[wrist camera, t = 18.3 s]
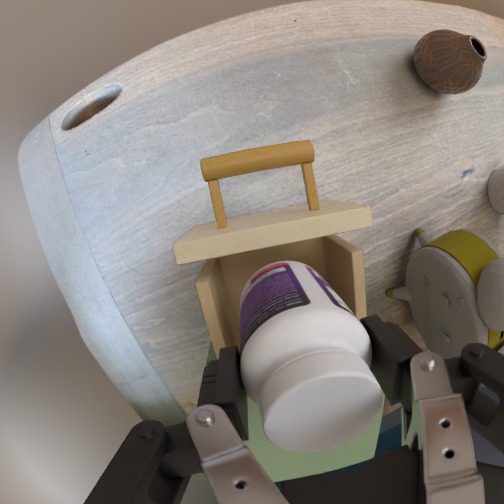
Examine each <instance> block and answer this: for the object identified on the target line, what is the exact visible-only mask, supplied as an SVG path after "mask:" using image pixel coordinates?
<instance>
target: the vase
mask: <svg viewBox="0 0 504 504" xmlns="http://www.w3.org/2000/svg"><path fill="white" fill-rule="evenodd" d="M486 58H487V53H486V50H485V48H484V46H483V44H482V43H481V42H480V41H479V40H478V39H477V38H476V37H474V36H469V35H463V34H461V33H458V32H455V31H451V30H435V31H432V32H429V33H428V34H426V35H424V36H423V37H422V38H421V39H420V40H419V41H418V43H417V44H416V46H415V49H414V53H413V60H414V65H415V68H416V71H417V73H418V74H419V76H420V78H421V79H422V80H423V81H424V82H425V83H426V84H427V85H428V86H429V87H431V88H432V89H434V90H436V91H438V92H441V93H444V94H460V93H463V92H466V91H468V90H470V89H471V88H473V87H474V86H475V85H476V84H477V82H478V81H479V79H480V77H481V73H482V69H483V63H484V61H485V60H486Z"/></svg>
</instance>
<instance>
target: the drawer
mask: <svg viewBox="0 0 504 504" xmlns="http://www.w3.org/2000/svg"><path fill="white" fill-rule="evenodd" d="M313 161H314V149H313V145H312V143H311V141H310V140H303V141H296V142H289V143H282V144H276V145H270V146H264V147H258V148H253V149H247V150H242V151H237V152H232V153H227V154H222V155H218V156H213V157H209V158H204V159H201V161H200V164H201V171H202V175H203V178H204V180H205V182H208V184H209V189H210V194H211V199H212V204H213V208H214V213H215V218H216V221H214V222H209V223H205V224H200V225H196V226H194V227H193V228H192V229H191V230H190V231H188V232H187V233H186V234H185V235H183V236H182V237H181V238H180V239H179V240H177V241H176V242H175V243H174V244H173V245H172V248H173V252H174V256H175V260H176V264H177V265H181V264H186V263H191V262H196V261H201V260H206V259H207V261H206V263H205V265H204V267H203V269H202V271H201V273H200V275H199V277H198V279H197V281H196V283H195V286H196V289H197V293H198V297H199V300H200V304H201V307H202V311H203V314H204V318H205V321H206V324H207V328H208V331H209V334H210V338H211V341H212V344H213V347H214V351H215V354H216V357H217V360H219V352H220V348H225V347H231V346H237V347H238V350H239V353H240V300H241V295H242V292H243V289H244V287H245V285H246V283H247V282H248V280H249V279H250V278H251V276H252V275H253V274H254V273H256V272H257V271H258V270H259V269H261V268H263V267H264V266H266V265H269V264H271V263H274V262H279V261H296V262H300V263H303V264H306V265H308V266H310V267H311V268H313V269H314V270H315V271H317V272H318V273H319V274H320V275H321V276H322V277H323V279H324V280H325V281H326V282H327V283H328V284H329V285H330V287H331V288H332V289H333V290H334V291H335V292H336V294H337V295H338V296H339V297H340V298H341V299H342V300H343V302H344V303H345V304H346V305H347V306H348V308H349V309H350V310H351V311H352V312H353V314H354V315H355V316H356V317H357V319H358V320H359V321H360V319H361V318H364V317H366V291H365V273H364V259H363V251H362V250H361V249H359V248H358V247H356V246H354V245H352V244H350V243H349V242H347V241H345V240H343V239H342V238H340V237H338V236H336V235H334V234H338V233H343V232H349V231H354V230H359V229H364V228H369V227H372V217H371V209H370V207H369V206H363V205H358V204H353V203H347V202H341V201H335V200H325V201H319V202H318V196H317V191H316V185H315V179H314V174H313V169H312V163H311V162H313ZM298 164H301V168H302V173H303V178H304V184H305V189H306V195H307V201H308V203H307V204H301V205H296V206H290V207H285V208H279V209H274V210H269V211H264V212H258V213H253V214H248V215H243V216H238V217H233V218H228V219H226V216H225V211H224V206H223V202H222V197H221V192H220V187H219V182H218V180H217V179H222V178H226V177H231V176H236V175H241V174H246V173H251V172H257V171H262V170H268V169H273V168H279V167H285V166H291V165H298Z"/></svg>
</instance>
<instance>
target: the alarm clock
mask: <svg viewBox="0 0 504 504" xmlns="http://www.w3.org/2000/svg"><path fill="white" fill-rule="evenodd" d="M415 233H416V236H417V238H418V240H419V242H420V244H421V248H419V249H418V250H417V251H416V252H414V253H413V255H412V256H411V257H410V260H409V262H408V265H407V268H406V286H405V287H400V288H396V289H390V290H387V296H388V297H392V298H397V299H401V300H406V301H408V302H409V305H410V309H411V313H412V316H413V319H414V321H415V324H416V326H417V329H418V331H419V333H420V335H421V337H422V339H423V341H424V342H425V344H426V346H427V347H428V349H429V350H430V352H435V353H437V354H439V355H441V356H442V357H443V359H449V358H455V357H459V356H460V355H461V351H462V349H463V347H464V346H466V345H467V344H470V343H482V344H485V345H486V346H488V347H490V348H492V349H494V350H495V351H498V350H499V349H500V348H501V347H502V346H503V345H504V256H503V254H502V253H501V252H500V250H499V249H498V248H497V247H496V246H495V245H494V244H493V243H492V242H491V241H490V240H489V239H487V238H486V237H485V236H483V235H482V234H479V233H477V232H474V231H472V230H467V229H459V230H455V231H451V232H449V233H447V234H445V235H443V236H441V237H439V238H437V239H436V240H434V241H433V240H432V239H431V238H430V237H429V236H428V235H427V234H426V233H425V232H424V231H422V230H421V229H420V228H417V229H416V230H415ZM498 352H499V353H501V354H503V355H504V347H503V348H501V349H500V350H499V351H498ZM482 386H484V385H483V384H482ZM485 387H486V386H485Z"/></svg>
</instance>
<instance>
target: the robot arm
mask: <svg viewBox="0 0 504 504" xmlns="http://www.w3.org/2000/svg"><path fill="white" fill-rule="evenodd" d="M360 322H361V324H362V325H363V327H364V328H365V330H366V331H367V333H368V335H369V338H370V341H371V346H372V363H371V367H370V371H371V372H372V373H373V375H374V377H375V378H376V380H377V382H378V383H379V385H380V387H381V389H382V391H383V392H384V394H385V396H386V397H387V399H388V400H389V402H390V404H391V405H394V404H396V403H399V402H401V404H402V405H403V406H402V411H401V416H402V417H401V418H402V446H401V447H399V448H396V449H394V450H391V451H389V452H386V453H384V454H381V455H379V456H377V457H375V458H374V459H372V460H371V461H369V462H367V463H365V464H364V465H362V466H360V467H358V468H357V469H355V470H353V471H351V472H347V473H336V474H317V475H310V476H305V477H300V478H295V479H289V480H283V481H281V485H282V489H279V490H278V488H277V487H276V485H275V484H274V483H273V481H272V480H271V479H270V477H269V476H268V474H267V473H266V472H265V470H264V469H263V467H262V466H261V464H260V463H259V462H258V460H257V459H256V457H255V456H254V454H253V453H252V451H251V450H250V448H249V447H248V446H245V444H244V443H243V441H248V440H249V433H248V401H247V392H246V391H245V389H244V387H243V384H242V380H241V372H240V353H239V350H238V347H237V346H231V347H225V348H220V352H219V360H212V361H210V362H209V363H208V364H207V366H206V367H205V368H204V372H203V378H202V384H201V388H200V394H199V399H198V405H197V408H195V409H193V410H192V411H191V412H190V413H189V414H188V416H187V418H186V421H185V422H183V423H180V424H177V425H173V426H170V427H166V428H165V427H164V426H163V424H162V423H160V422H158V421H155V420H146V421H142V422H140V423H138V424H137V425H135V426H134V427H133V428H132V429H131V431H130V432H129V434H128V435H127V437H126V439H125V440H124V442H123V443H122V445H121V446H120V448H119V449H118V451H117V452H116V454H115V456H114V457H113V459H112V460H111V462H110V463H109V465H108V466H107V468H106V469H105V471H104V473H103V474H102V476H101V477H100V479H99V480H98V482H97V484H96V485H95V487H94V488H93V490H92V492H91V493H90V495H89V496H88V498H87V499H86V501H85V502H84V504H180V502H181V500H182V497H183V495H184V492H185V490H186V488H187V485H188V483H189V480H190V477H191V475H192V474H196V473H200V472H203V471H204V473H205V476H206V478H207V480H208V482H209V484H210V486H211V488H212V491H213V493H214V495H215V497H216V499H217V501H218V503H219V504H504V467H500V466H495V465H491V464H486V463H482V462H478V461H476V460H475V454H474V448H473V443H472V437H471V431H470V427H472V428H473V429H474V430H475V431H477V432H478V433H479V434H480V435H481V436H483V437H484V438H485V439H486V440H487V441H489V442H490V443H491V444H492V445H494V446H495V447H496V448H497V449H498V450H500V451H501V452H502V453H503V454H504V355H503V354H501V353H499V352H497V351H495V350H494V349H492V348H490V347H488V346H486V345H485V344H482V343H470V344H467V345H466V346H464V347H463V349H462V351H461V355H460V356H459V357H455V358H449V359H443V357H442V356H441V355H439V354H437V353H435V352H423V351H422V350H421V349H420V348H419V347H418V345H417V344H416V343H415V342H414V341H413V340H412V339H411V338H410V337H408V335H407V334H406V333H405V332H403V330H402V329H401V328H400V327H399V326H398V325H395V324H393V323H391V322H385V323H384V322H383V321H382V320H381V319H380V318H379V317H378V316H377V315H376V314H375V315H371V316H368V317H364V318H361V319H360ZM482 384H483V385H484V386H486V387H487V388H489V389H490V390H492V391H493V392H494V393H496V394H497V395H498V396H499V398H500V404H498V403H496V402H495V401H494V400H492V399H491V398H489V397H488V396H486V395H485V394H483V393H482V392H481V391H480V388H481V386H482ZM469 426H470V427H469Z"/></svg>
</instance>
